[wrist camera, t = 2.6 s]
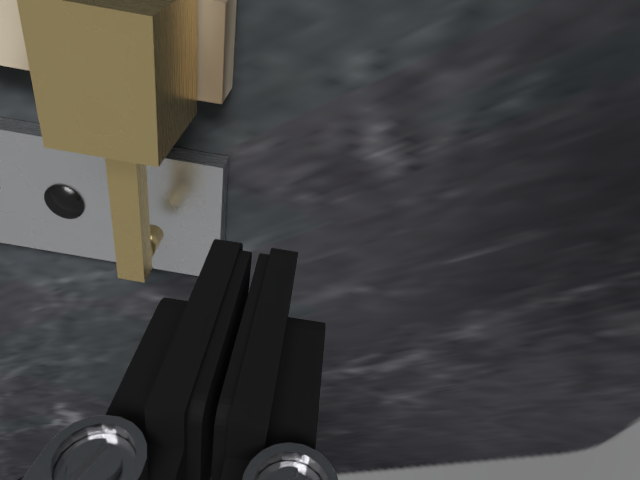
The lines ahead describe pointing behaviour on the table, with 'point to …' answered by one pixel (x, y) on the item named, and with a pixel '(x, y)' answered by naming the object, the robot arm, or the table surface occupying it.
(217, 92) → the divider rail
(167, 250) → the bolt plate
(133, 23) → the sliding leg
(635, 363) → the table surface
